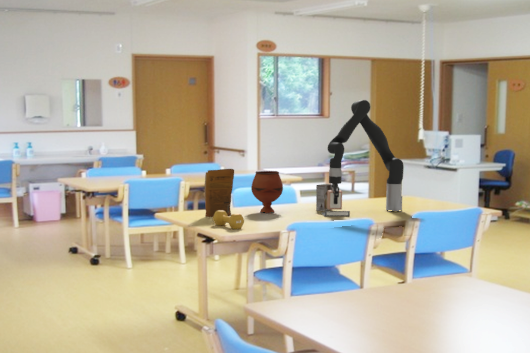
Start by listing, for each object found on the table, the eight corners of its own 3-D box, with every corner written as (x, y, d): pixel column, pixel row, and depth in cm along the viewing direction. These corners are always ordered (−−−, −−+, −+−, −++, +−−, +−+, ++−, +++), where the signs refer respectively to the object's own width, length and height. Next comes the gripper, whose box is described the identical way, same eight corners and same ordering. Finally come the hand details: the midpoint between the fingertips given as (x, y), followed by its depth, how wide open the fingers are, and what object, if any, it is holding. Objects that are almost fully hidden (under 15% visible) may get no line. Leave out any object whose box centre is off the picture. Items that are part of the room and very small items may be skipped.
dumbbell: (211, 225, 402) (211, 210, 401) (225, 224, 408) (225, 209, 407) (231, 230, 387) (231, 215, 387) (245, 228, 393) (245, 213, 392)
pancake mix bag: (236, 216, 436) (236, 168, 433) (205, 218, 428) (205, 169, 425) (231, 214, 442) (232, 168, 439) (201, 216, 434) (201, 168, 431)
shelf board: (345, 213, 451) (345, 208, 451) (349, 216, 439) (349, 211, 439) (321, 213, 450) (321, 208, 449) (324, 216, 437) (324, 211, 437)
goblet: (245, 212, 451) (245, 171, 448) (263, 209, 466) (264, 169, 463) (270, 215, 439) (270, 173, 437) (288, 211, 455) (289, 171, 452)
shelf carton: (327, 208, 448) (327, 190, 447) (340, 208, 449) (340, 190, 448) (328, 209, 443) (329, 191, 442) (341, 209, 444) (342, 191, 443)
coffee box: (323, 208, 470) (324, 183, 468) (332, 209, 466) (332, 184, 465) (315, 210, 463) (316, 184, 461) (324, 211, 459) (324, 185, 457)
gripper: (326, 174, 451) (326, 201, 453) (331, 176, 437) (330, 205, 438) (339, 174, 452) (338, 201, 453) (343, 176, 437) (343, 205, 439)
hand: (334, 203), depth 446 cm, fingers closed on shelf carton, 5 cm apart
